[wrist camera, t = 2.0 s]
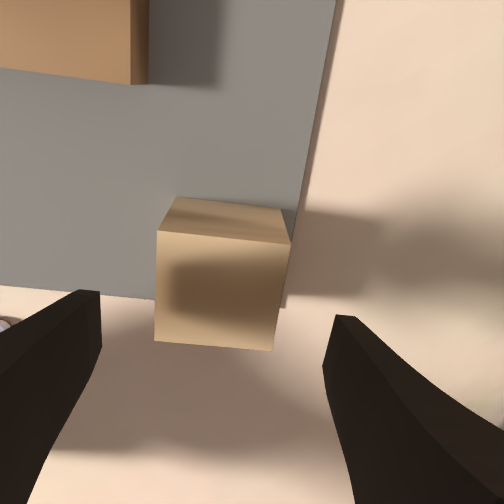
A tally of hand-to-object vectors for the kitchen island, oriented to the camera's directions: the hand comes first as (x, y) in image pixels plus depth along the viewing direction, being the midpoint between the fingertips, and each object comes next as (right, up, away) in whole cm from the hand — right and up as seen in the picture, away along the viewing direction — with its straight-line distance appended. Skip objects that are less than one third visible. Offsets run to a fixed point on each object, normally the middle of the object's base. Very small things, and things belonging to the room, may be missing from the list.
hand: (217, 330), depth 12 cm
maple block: (0, +3, +6) cm, 6 cm away
